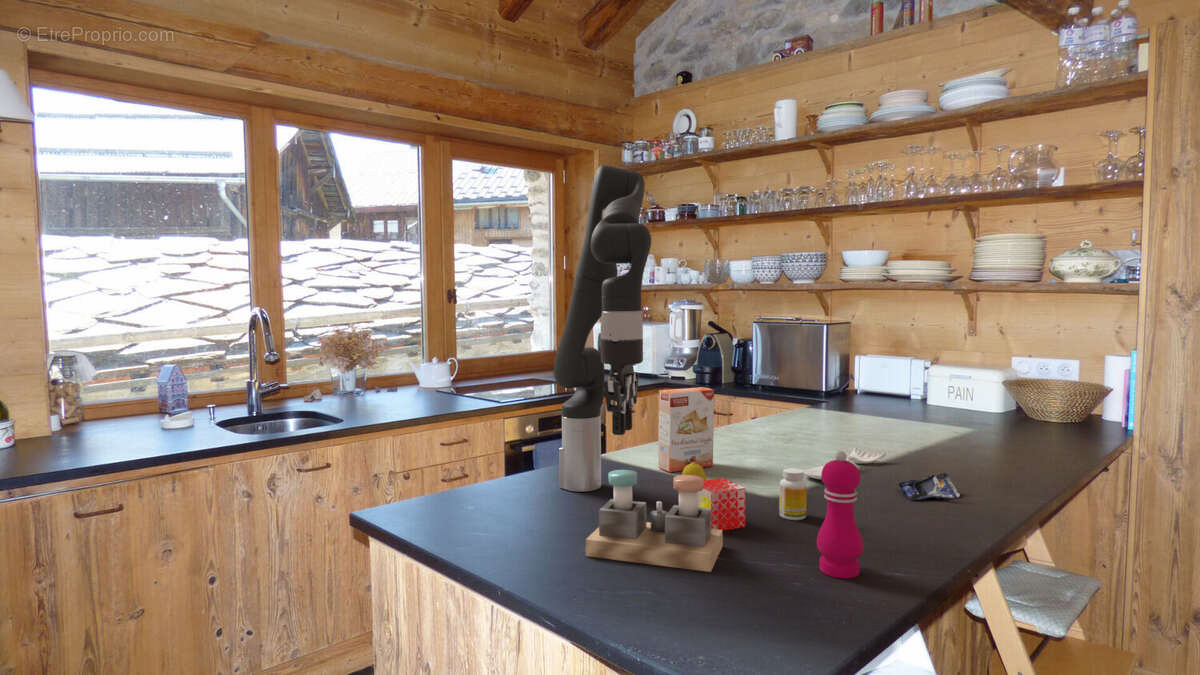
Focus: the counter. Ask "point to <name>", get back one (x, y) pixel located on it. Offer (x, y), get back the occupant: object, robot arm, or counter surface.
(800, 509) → the supplement bottle
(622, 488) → the knob left
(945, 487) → the snack package
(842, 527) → the pepper mill
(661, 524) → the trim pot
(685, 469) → the lemon
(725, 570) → the counter surface
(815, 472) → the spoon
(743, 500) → the red patterned cube box
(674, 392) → the cracker box
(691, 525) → the mount
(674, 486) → the knob right
